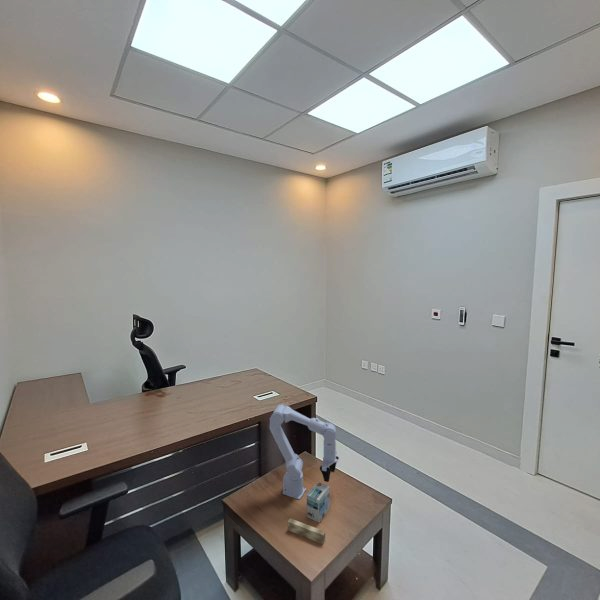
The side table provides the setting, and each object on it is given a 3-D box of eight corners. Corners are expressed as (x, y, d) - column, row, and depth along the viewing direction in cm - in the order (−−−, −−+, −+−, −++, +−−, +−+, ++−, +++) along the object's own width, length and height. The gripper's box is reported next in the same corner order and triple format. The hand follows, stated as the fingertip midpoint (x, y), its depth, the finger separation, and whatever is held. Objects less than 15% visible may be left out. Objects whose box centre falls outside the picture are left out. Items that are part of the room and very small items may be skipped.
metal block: (288, 530, 134) (287, 521, 133) (290, 526, 135) (290, 518, 135) (323, 544, 127) (323, 535, 126) (325, 540, 129) (325, 531, 128)
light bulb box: (319, 523, 137) (319, 500, 136) (306, 517, 140) (305, 494, 139) (330, 507, 146) (330, 486, 145) (317, 502, 149) (317, 480, 148)
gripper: (332, 460, 142) (331, 488, 144) (342, 444, 155) (342, 469, 157) (317, 456, 145) (317, 483, 147) (328, 440, 158) (328, 465, 160)
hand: (329, 476), depth 152 cm, fingers open, 7 cm apart
